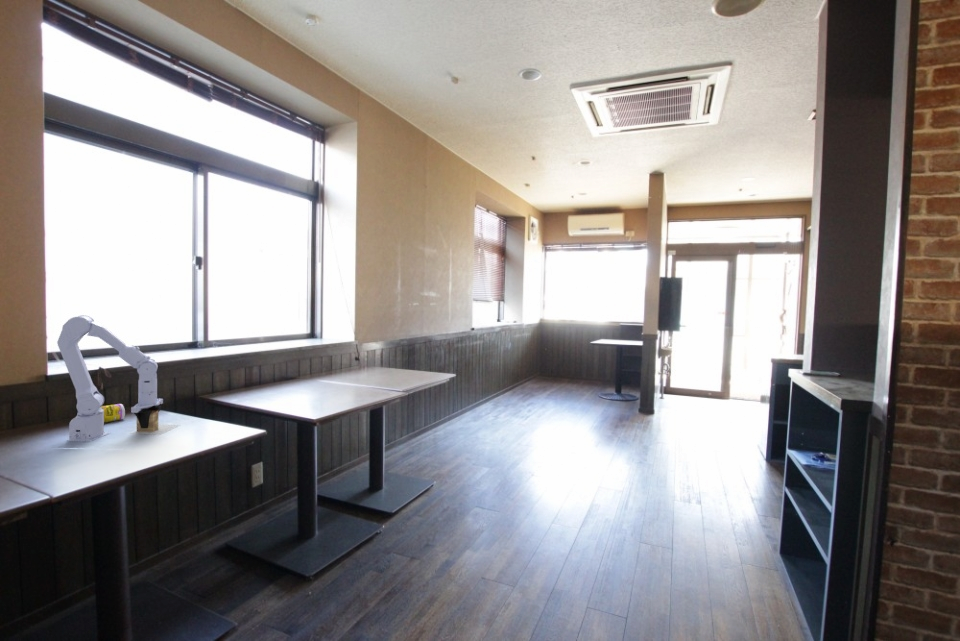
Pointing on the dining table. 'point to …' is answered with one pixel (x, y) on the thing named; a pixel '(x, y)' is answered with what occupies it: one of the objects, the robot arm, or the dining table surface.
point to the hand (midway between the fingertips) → (147, 426)
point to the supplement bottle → (113, 412)
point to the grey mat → (159, 429)
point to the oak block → (150, 423)
